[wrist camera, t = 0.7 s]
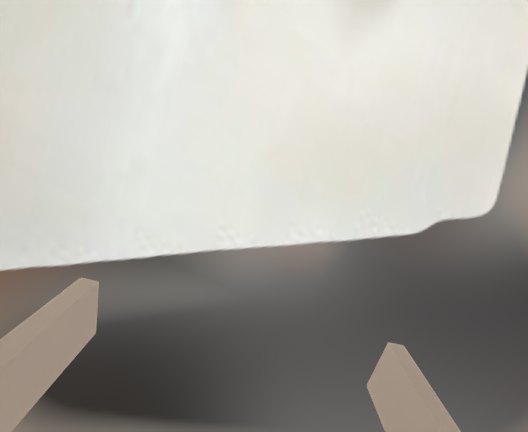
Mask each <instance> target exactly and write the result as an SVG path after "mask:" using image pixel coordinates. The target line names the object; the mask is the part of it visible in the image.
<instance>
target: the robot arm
mask: <svg viewBox="0 0 528 432" xmlns="http://www.w3.org/2000/svg"><path fill="white" fill-rule="evenodd" d="M98 287H99V281H94V280H89V279H84V278H79V279H78V280H77V281H75V282H74V283H73V284H72V285H70V286H69V287H68V288H66V289H65V290H64V291H63V292H61V293H60V294H59V295H57V296H56V297H55V298H53V299H52V300H51V301H49V302H48V303H47V304H46V305H44V306H43V307H42V308H41V309H39V310H38V311H37V312H35V313H34V314H33V315H31V316H30V317H29V318H28V319H26V320H25V321H24V322H22V323H21V324H20V325H18V326H17V327H16V328H15V329H13V330H12V331H11V332H10V333H8V334H7V335H6V336H4V337H3V338H2V339H0V432H11V431H12V430H13V429H14V428H15V427H16V425H17V424H18V423H19V422H20V421H21V420H22V418H23V417H24V416H25V415H26V414H27V413H28V411H29V410H30V409H31V408H32V407H33V406H34V404H35V403H36V402H37V401H38V400H39V399H40V397H41V396H42V395H43V394H44V393H45V392H46V390H47V389H48V388H49V387H50V385H52V383H53V382H54V381H55V380H56V379H57V377H58V376H59V375H60V374H61V373H62V372H63V371H64V369H65V368H66V367H67V366H68V365H69V364H70V362H71V361H72V360H73V359H74V358H75V356H76V355H77V354H78V353H79V352H80V350H81V349H82V348H83V347H84V346H85V345H86V344H87V342H88V341H89V340H90V339H91V338H92V337H93V336H94V334H95V333H96V321H97V305H98ZM367 388H368V390H369V393H370V395H371V398H372V400H373V403H374V405H375V407H376V410H377V413H378V415H379V417H380V420H381V422H382V425H383V427H384V429H385V432H461V431H460V430H459V428H458V427H457V425H456V424H455V422H454V421H453V419H452V418H451V416H450V415H449V413H448V412H447V410H446V409H445V407H444V406H443V404H442V403H441V401H440V400H439V398H438V397H437V395H436V394H435V392H434V391H433V389H432V388H431V386H430V385H429V383H428V382H427V380H426V378H425V377H424V375H423V374H422V373H421V371H420V369H419V368H418V366H417V365H416V363H415V362H414V361H413V359H412V357H411V356H410V354H409V353H408V352H407V350H406V348H405V347H404V346H403V345H399V344H394V343H389V342H388V344H387V346H386V348H385V350H384V352H383V354H382V356H381V358H380V360H379V362H378V364H377V366H376V368H375V370H374V372H373V374H372V376H371V378H370V380H369V382H368V384H367Z"/></svg>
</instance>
